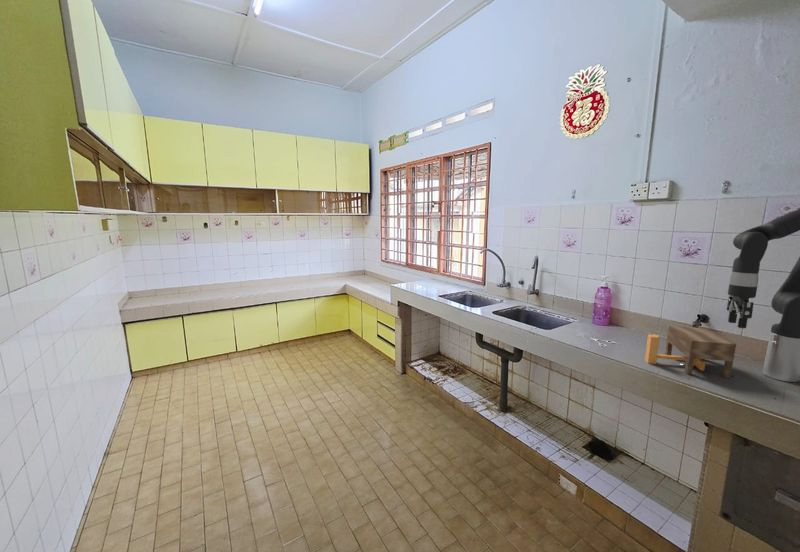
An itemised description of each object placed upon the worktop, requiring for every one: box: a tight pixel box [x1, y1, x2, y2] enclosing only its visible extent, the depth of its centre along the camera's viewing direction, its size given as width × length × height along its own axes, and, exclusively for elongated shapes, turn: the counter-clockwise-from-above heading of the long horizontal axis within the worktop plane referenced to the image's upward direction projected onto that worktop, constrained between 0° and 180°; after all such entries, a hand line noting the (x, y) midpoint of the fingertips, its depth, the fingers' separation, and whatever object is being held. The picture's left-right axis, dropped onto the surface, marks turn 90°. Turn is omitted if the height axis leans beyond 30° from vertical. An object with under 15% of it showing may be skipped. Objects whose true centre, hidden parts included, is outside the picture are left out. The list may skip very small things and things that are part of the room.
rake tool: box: [644, 334, 706, 372], centre depth 139 cm, size 19×8×12 cm, turn 74°
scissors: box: [576, 332, 621, 348], centre depth 168 cm, size 11×1×20 cm
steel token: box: [678, 361, 695, 369], centre depth 138 cm, size 5×5×1 cm
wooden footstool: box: [664, 325, 737, 379], centre depth 136 cm, size 14×18×14 cm
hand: (736, 325), depth 128 cm, fingers open, 8 cm apart
